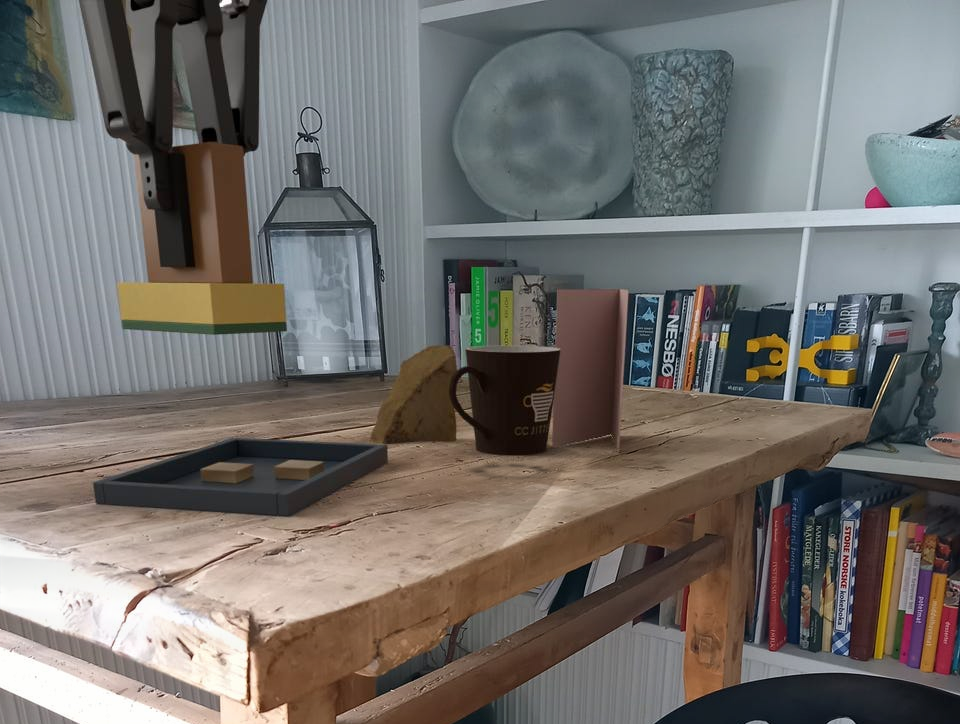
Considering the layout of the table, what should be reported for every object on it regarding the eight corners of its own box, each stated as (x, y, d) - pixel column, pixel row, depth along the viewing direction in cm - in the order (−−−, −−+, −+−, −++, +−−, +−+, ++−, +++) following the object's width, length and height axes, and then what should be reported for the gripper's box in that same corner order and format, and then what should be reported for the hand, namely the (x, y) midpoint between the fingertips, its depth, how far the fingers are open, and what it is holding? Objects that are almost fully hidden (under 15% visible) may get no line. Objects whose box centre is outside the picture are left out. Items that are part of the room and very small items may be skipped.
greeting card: (604, 434, 103) (612, 289, 97) (664, 441, 98) (676, 289, 93) (544, 447, 94) (549, 289, 89) (607, 456, 90) (617, 290, 85)
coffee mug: (534, 449, 93) (536, 344, 89) (572, 464, 86) (577, 351, 82) (423, 456, 89) (421, 347, 86) (453, 472, 82) (452, 353, 78)
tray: (97, 517, 65) (92, 482, 65) (234, 465, 84) (232, 437, 83) (290, 531, 62) (287, 494, 61) (388, 473, 81) (387, 444, 80)
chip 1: (201, 481, 72) (200, 468, 72) (220, 474, 75) (218, 462, 75) (236, 483, 72) (235, 470, 71) (254, 476, 75) (253, 463, 74)
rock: (375, 433, 87) (476, 415, 89) (352, 354, 89) (452, 337, 91) (369, 484, 97) (460, 466, 99) (348, 411, 99) (438, 396, 101)
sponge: (287, 331, 63) (275, 148, 59) (214, 334, 58) (196, 136, 54) (195, 326, 68) (178, 158, 64) (122, 329, 64) (99, 149, 60)
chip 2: (274, 479, 74) (273, 466, 73) (290, 471, 76) (289, 459, 76) (310, 480, 73) (309, 468, 73) (324, 473, 76) (324, 461, 75)
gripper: (224, -115, 61) (253, 269, 70) (-12, -209, 50) (57, 265, 58) (303, -144, 57) (323, 269, 66) (65, -253, 46) (127, 265, 54)
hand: (198, 266), depth 62 cm, fingers closed on sponge, 2 cm apart
